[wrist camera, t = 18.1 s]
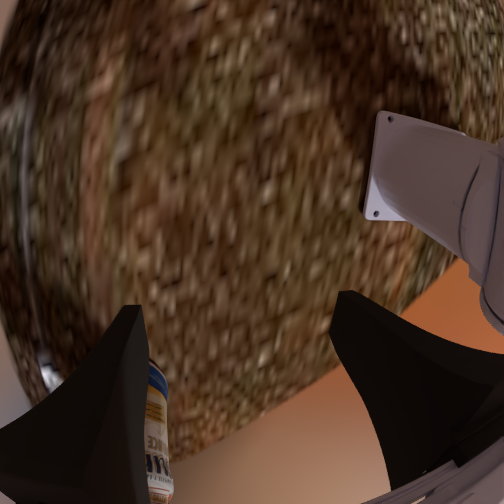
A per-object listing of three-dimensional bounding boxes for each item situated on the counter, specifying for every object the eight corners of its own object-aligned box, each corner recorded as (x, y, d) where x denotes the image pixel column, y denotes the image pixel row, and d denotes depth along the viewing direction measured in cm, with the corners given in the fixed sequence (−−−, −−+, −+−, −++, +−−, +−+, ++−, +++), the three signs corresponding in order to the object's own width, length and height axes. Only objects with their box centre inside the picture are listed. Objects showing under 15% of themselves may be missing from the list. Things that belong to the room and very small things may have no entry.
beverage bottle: (64, 352, 23) (24, 572, 5) (150, 338, 23) (156, 602, 6) (104, 408, 27) (98, 589, 9) (180, 399, 27) (205, 598, 10)
